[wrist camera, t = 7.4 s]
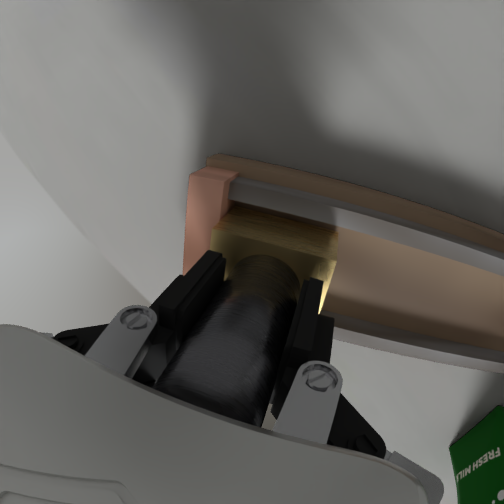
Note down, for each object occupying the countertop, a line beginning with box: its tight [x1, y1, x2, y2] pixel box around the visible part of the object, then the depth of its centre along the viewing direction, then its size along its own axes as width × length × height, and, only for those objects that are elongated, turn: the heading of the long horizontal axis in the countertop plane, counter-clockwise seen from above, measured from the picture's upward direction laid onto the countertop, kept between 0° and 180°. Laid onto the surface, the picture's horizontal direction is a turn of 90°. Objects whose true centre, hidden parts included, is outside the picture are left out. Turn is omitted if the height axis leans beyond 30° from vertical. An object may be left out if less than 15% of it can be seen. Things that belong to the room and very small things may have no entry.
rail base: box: [183, 153, 504, 374], centre depth 14 cm, size 8×25×4 cm, turn 81°
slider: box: [152, 206, 339, 427], centre depth 11 cm, size 4×5×10 cm
